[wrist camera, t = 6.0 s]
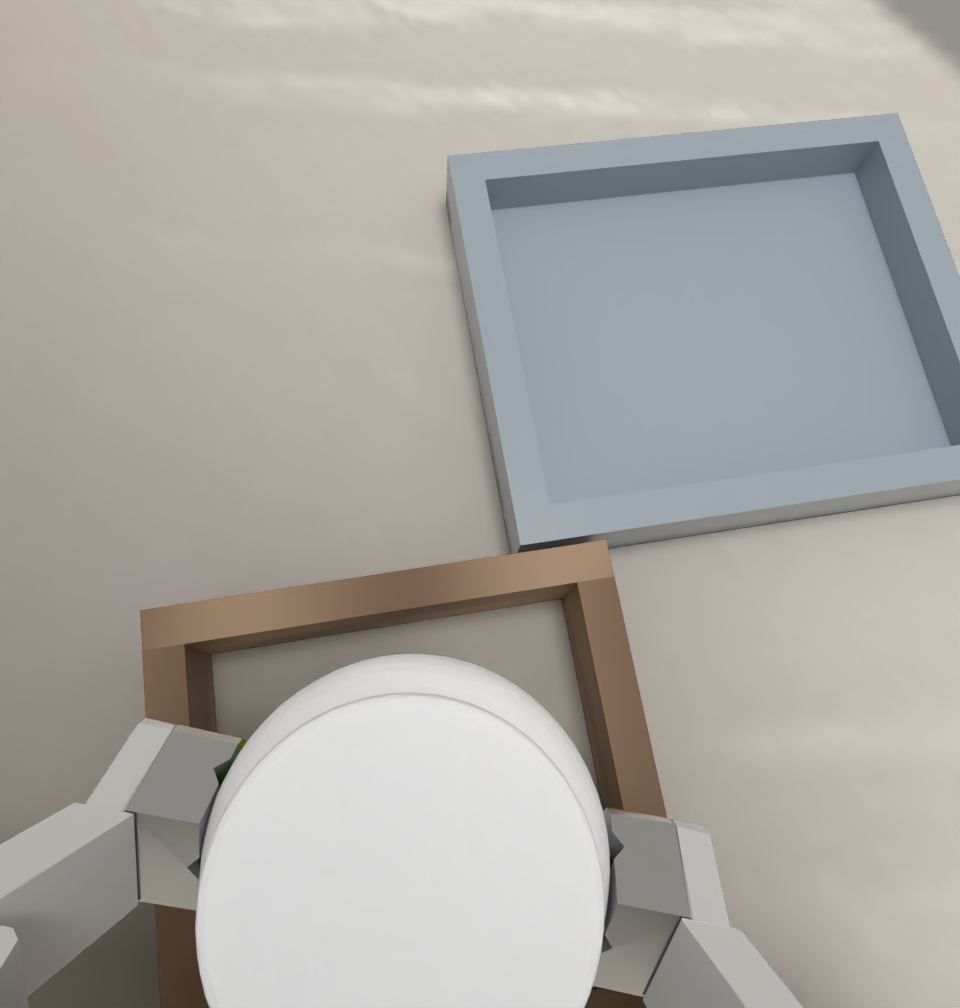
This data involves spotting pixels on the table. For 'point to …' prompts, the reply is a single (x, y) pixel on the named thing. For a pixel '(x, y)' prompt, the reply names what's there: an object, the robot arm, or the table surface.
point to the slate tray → (708, 329)
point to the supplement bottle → (404, 849)
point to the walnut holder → (397, 600)
